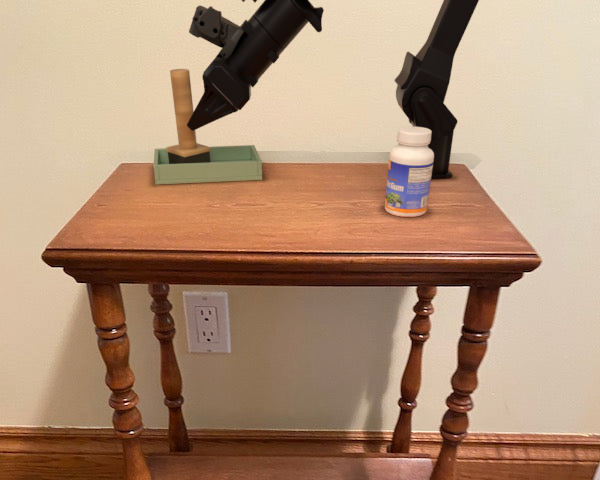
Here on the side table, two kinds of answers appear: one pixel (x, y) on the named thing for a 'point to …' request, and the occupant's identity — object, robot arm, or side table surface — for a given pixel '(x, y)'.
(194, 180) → the tray
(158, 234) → the side table surface
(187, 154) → the scrub brush
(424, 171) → the pill bottle
